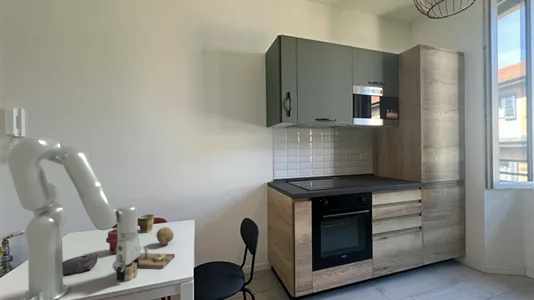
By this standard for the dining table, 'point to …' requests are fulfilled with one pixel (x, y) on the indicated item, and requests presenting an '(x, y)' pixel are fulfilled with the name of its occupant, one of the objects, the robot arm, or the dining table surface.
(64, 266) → the perforated stone tool
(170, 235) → the natural sponge
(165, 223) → the dining table surface
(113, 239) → the mechanical component
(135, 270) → the birch gear
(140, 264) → the gear board
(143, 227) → the ceramic cup
